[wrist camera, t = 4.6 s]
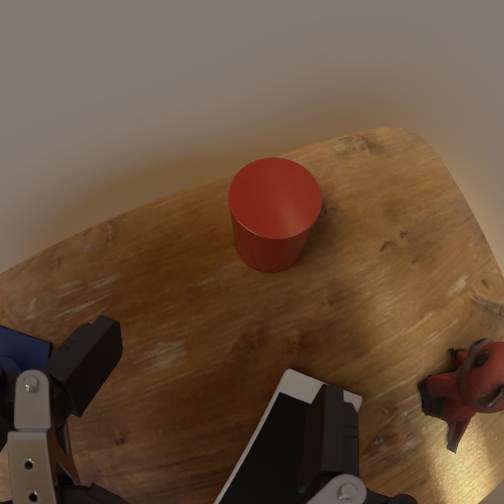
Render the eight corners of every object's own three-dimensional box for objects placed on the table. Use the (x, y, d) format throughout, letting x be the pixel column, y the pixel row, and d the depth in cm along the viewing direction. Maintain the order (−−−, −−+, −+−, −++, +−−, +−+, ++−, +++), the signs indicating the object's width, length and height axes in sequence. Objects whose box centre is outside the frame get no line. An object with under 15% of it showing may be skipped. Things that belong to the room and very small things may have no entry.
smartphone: (361, 396, 23) (365, 397, 22) (282, 534, 18) (282, 538, 17) (286, 367, 24) (287, 367, 23) (209, 509, 19) (207, 514, 18)
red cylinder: (231, 269, 27) (222, 234, 19) (238, 205, 29) (234, 154, 21) (302, 275, 26) (322, 243, 19) (305, 211, 28) (321, 162, 21)
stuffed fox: (422, 464, 20) (499, 501, 9) (397, 366, 24) (484, 364, 12) (478, 426, 21) (559, 437, 10) (456, 332, 24) (544, 311, 13)
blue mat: (-21, 412, 21) (-23, 412, 20) (-16, 319, 25) (-18, 318, 24) (47, 452, 20) (45, 453, 20) (51, 343, 24) (49, 343, 24)
